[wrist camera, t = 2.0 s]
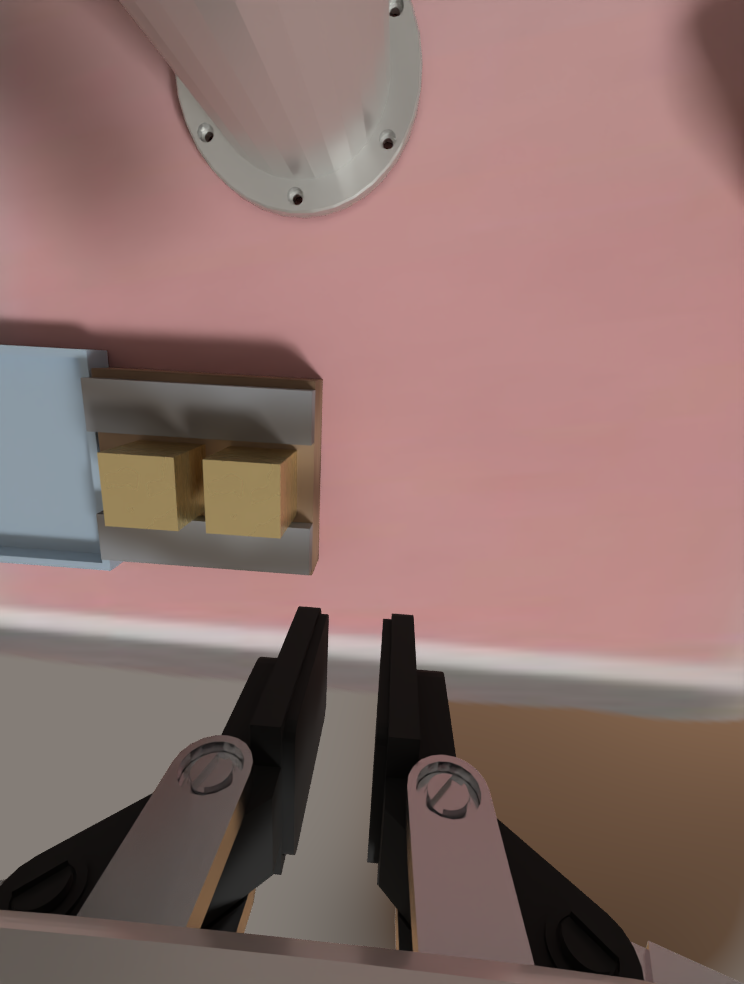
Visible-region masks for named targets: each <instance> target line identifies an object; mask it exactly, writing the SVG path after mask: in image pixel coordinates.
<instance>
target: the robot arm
mask: <svg viewBox="0 0 744 984" xmlns="http://www.w3.org/2000/svg"><path fill="white" fill-rule="evenodd" d="M119 2H120V3H121V4H122V5H123V7H124V8H125V9H126V11H127V12H128V13H129V14H130V16H131V17H132V18H133V20H134V21H135V22H136V23H137V25H138V26H139V27H140V29H141V30H142V31H143V32H144V34H145V35H146V36H147V38H148V39H149V40H150V41H151V43H152V44H153V45H154V47H155V48H156V49H157V51H158V52H159V53H160V54H161V56H162V57H163V58H164V60H165V61H166V62H167V63H168V65H169V66H170V67H171V69H172V70H173V71H174V72H175V78H176V86H177V94H178V99H179V102H180V106H181V109H182V113H183V116H184V120H185V123H186V125H187V128H188V130H189V132H190V134H191V136H192V138H193V140H194V142H195V145H196V147H197V149H198V150H199V151H200V153H201V154H202V156H203V157H204V159H205V160H206V162H207V163H208V164H209V166H210V167H211V169H212V170H213V171H214V172H215V173H216V174H217V175H218V176H219V177H220V179H221V180H222V181H223V182H224V183H225V184H226V185H227V186H229V187H230V188H231V189H232V190H233V191H235V192H236V193H237V194H238V195H239V196H240V197H242V198H243V199H245V200H246V201H248V202H250V203H252V204H253V205H255V206H257V207H259V208H261V209H262V210H265V211H269V212H272V213H275V214H278V215H281V216H287V217H298V218H310V217H318V216H326V215H329V214H331V213H334V212H337V211H340V210H343V209H346V208H348V207H349V206H351V205H353V204H354V203H356V202H358V201H359V200H361V199H363V198H364V197H366V196H367V195H368V194H369V193H370V192H371V191H372V190H373V189H374V188H376V187H377V186H378V185H379V184H380V183H381V182H382V181H383V180H384V179H385V177H386V176H387V175H388V173H389V172H390V171H391V169H392V168H393V167H394V165H395V164H396V163H397V161H398V159H399V157H400V155H401V153H402V152H403V150H404V148H405V146H406V144H407V142H408V140H409V137H410V134H411V131H412V128H413V125H414V122H415V118H416V115H417V111H418V104H419V97H420V91H421V78H422V53H421V42H420V32H419V28H418V24H417V20H416V16H415V13H414V9H413V5H412V2H411V0H119ZM393 14H398V15H399V16H397V17H392V15H393ZM210 136H213V139H212V140H211V141H210V142H208V139H209V137H210ZM386 142H390V143H391V144H392V145H393V146H392V148H391V149H384V147H383V146H384V144H385V143H386ZM297 197H301V198H302V199H303V200H302V203H301V204H300V205H295V199H296V198H297ZM328 626H329V615H328V614H321V608H313V607H301V606H300V607H298V609H297V612H296V614H295V617H294V619H293V621H292V624H291V626H290V629H289V631H288V634H287V636H286V638H285V641H284V643H283V646H282V648H281V651H280V653H279V655H278V658H269V657H260V658H258V660H257V662H256V664H255V666H254V668H253V670H252V672H251V674H250V676H249V678H248V680H247V682H246V684H245V687H244V689H243V691H242V693H241V695H240V697H239V699H238V701H237V703H236V706H235V708H234V710H233V712H232V714H231V716H230V718H229V720H228V722H227V724H226V727H225V728H224V731H223V733H222V735H215V736H211V737H206V738H203V739H200V740H198V741H196V742H194V743H192V744H190V745H189V746H188V747H186V748H185V749H184V750H182V751H181V752H180V753H179V754H178V756H177V757H176V758H175V759H174V760H173V762H172V763H171V765H170V766H169V768H168V770H167V771H166V773H165V775H164V776H163V778H162V779H161V781H160V783H159V784H158V786H157V787H156V789H155V791H154V792H153V793H152V794H150V795H148V796H147V797H145V798H143V799H141V800H139V801H137V802H136V803H134V804H132V805H130V806H128V807H126V808H124V809H123V810H121V811H119V812H117V813H115V814H113V815H111V816H110V817H108V818H106V819H104V820H102V821H100V822H98V823H97V824H95V825H93V826H91V827H89V828H87V829H85V830H84V831H82V832H80V833H78V834H76V835H75V836H72V837H71V838H69V839H67V840H65V841H63V842H61V843H59V844H58V845H56V846H54V847H52V848H50V849H48V850H46V851H45V852H43V853H41V854H39V855H38V856H36V857H34V858H33V859H31V860H30V861H28V862H27V863H25V864H23V865H22V866H20V867H19V868H18V869H17V870H16V871H15V872H14V873H13V874H12V875H11V876H9V877H8V878H7V879H5V880H1V881H0V984H743V983H741V982H739V981H736V980H734V979H732V978H730V977H728V976H725V975H723V974H721V973H719V972H717V971H714V970H712V969H710V968H708V967H705V966H703V965H701V964H699V963H696V962H694V961H692V960H689V959H688V958H685V957H683V956H681V955H679V954H677V953H674V952H672V951H670V950H668V949H665V948H663V947H661V946H659V945H656V944H654V943H652V942H650V941H648V943H647V946H646V948H643V947H641V946H639V945H637V944H634V943H632V942H630V940H629V939H628V937H627V936H626V934H625V933H624V931H623V930H622V929H621V927H619V926H618V924H617V923H616V922H615V921H614V920H613V919H612V918H611V917H610V916H609V915H608V914H607V913H606V912H605V911H604V910H602V909H601V908H600V907H599V906H598V905H597V904H596V903H594V902H593V901H592V900H591V899H590V898H589V897H587V896H586V895H585V894H584V893H583V892H582V891H580V890H579V889H578V888H577V887H576V886H575V885H573V884H572V883H571V882H570V881H569V880H568V879H567V878H565V877H564V876H563V875H562V874H561V873H560V872H558V871H557V870H556V869H555V868H554V867H553V866H552V865H550V864H549V863H548V862H547V861H546V860H544V859H543V858H542V857H541V856H540V855H539V854H538V853H536V852H535V851H534V850H533V849H532V848H530V847H529V846H528V845H527V844H526V843H525V842H524V841H523V840H521V839H520V838H519V837H518V836H517V835H516V834H514V833H513V832H512V831H511V830H510V829H509V828H508V827H506V826H505V825H504V824H503V823H501V821H499V820H498V819H497V818H496V814H495V811H494V806H493V803H492V799H491V795H490V791H489V788H488V786H487V784H486V782H485V780H484V778H483V777H482V776H481V774H480V773H479V772H478V771H477V770H476V769H475V768H474V767H473V766H471V765H470V764H468V763H467V762H465V761H463V760H461V759H459V758H456V754H455V747H454V740H453V733H452V726H451V719H450V712H449V705H448V698H447V691H446V684H445V677H444V673H443V672H439V671H427V670H417V669H416V651H415V633H414V617H413V615H404V614H392V619H383V630H382V645H381V659H380V674H379V689H378V704H377V719H376V734H375V750H374V751H375V752H374V765H373V781H372V782H373V783H372V797H371V812H370V828H369V844H368V859H367V862H370V863H378V878H377V885H379V887H380V888H381V889H382V891H383V892H384V893H385V894H386V896H387V897H388V898H389V899H390V901H391V902H392V903H393V904H394V906H395V907H396V911H395V937H396V950H393V949H385V948H376V947H367V946H358V945H348V944H339V943H329V942H320V941H311V940H302V939H292V938H282V937H274V936H264V935H255V934H246V933H244V932H245V929H246V925H247V922H248V919H249V916H250V913H251V909H252V906H253V903H254V897H255V891H256V887H258V886H259V885H260V884H262V883H263V882H264V881H265V880H267V879H268V878H269V877H270V876H272V875H273V874H279V875H281V873H282V869H283V864H284V860H285V856H286V854H289V855H295V853H296V850H297V846H298V841H299V837H300V832H301V827H302V822H303V818H304V813H305V808H306V803H307V799H308V794H309V789H310V784H311V779H312V774H313V770H314V765H315V760H316V756H317V751H318V746H319V742H320V736H321V732H322V727H323V723H324V717H325V709H326V690H327V658H328Z"/></svg>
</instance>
